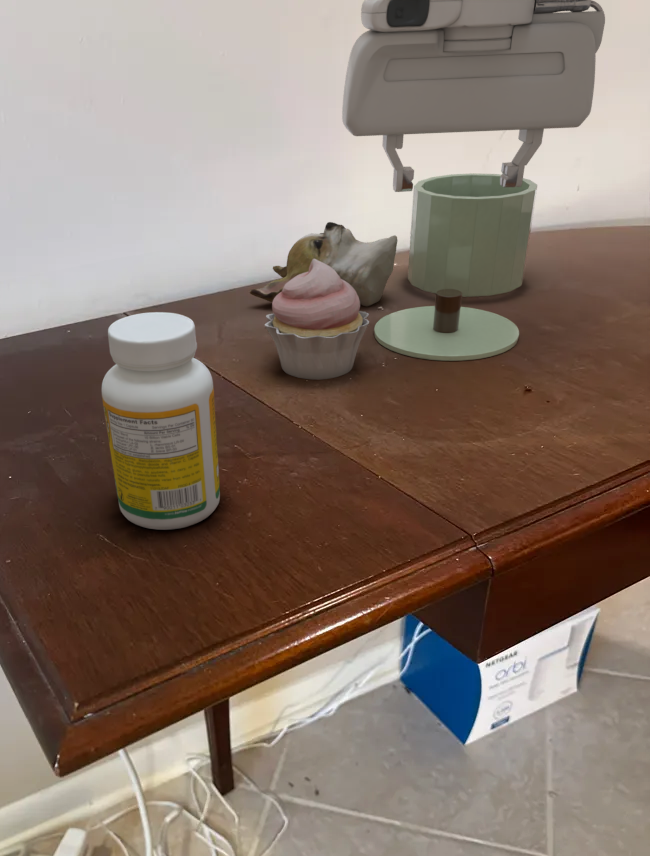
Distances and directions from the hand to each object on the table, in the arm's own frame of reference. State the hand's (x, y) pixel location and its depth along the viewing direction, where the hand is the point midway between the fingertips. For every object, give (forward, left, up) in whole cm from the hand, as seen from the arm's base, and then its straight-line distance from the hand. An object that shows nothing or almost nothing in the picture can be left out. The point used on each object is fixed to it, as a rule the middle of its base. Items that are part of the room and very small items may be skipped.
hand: (456, 188), depth 71 cm
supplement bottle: (+25, +28, -14) cm, 40 cm away
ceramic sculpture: (+10, -13, -14) cm, 21 cm away
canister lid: (0, 0, -13) cm, 13 cm away
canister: (-6, -17, -14) cm, 23 cm away
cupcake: (+13, +6, -14) cm, 20 cm away
